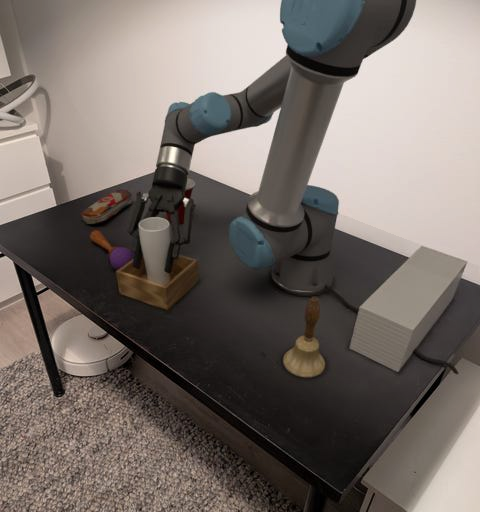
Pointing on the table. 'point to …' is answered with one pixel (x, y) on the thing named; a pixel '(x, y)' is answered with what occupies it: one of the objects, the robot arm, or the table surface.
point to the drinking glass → (155, 248)
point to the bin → (153, 293)
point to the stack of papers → (406, 307)
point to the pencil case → (107, 207)
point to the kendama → (113, 251)
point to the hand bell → (306, 347)
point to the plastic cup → (181, 209)
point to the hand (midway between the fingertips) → (151, 269)
